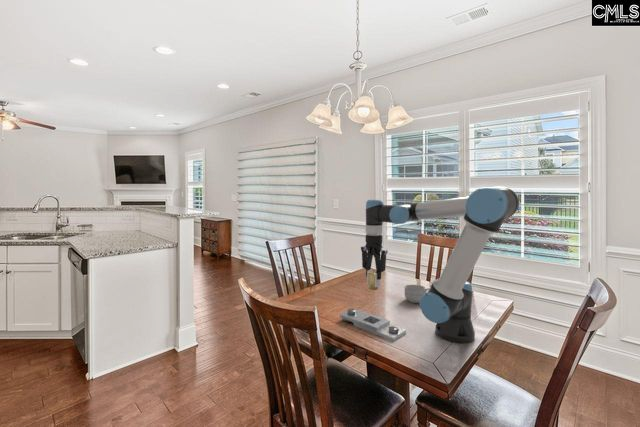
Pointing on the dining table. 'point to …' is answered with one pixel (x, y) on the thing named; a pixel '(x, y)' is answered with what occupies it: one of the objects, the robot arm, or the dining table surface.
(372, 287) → the brass pin
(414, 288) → the teacup
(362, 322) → the grey peg base plate
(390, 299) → the dining table surface
